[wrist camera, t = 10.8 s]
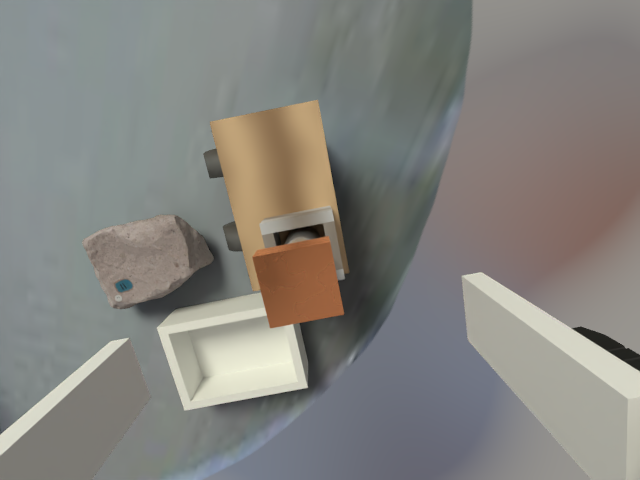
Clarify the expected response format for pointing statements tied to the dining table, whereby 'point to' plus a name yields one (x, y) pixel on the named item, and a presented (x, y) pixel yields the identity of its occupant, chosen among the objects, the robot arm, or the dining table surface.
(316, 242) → the pin
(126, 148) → the dining table surface
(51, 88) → the dining table surface
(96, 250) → the stone
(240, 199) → the trolley
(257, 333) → the tray
